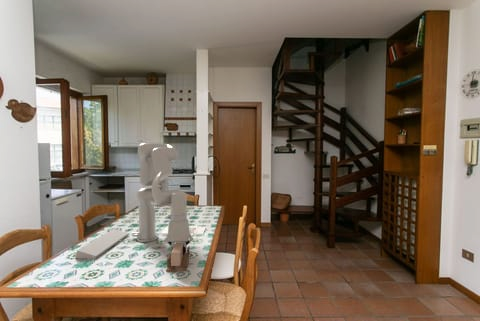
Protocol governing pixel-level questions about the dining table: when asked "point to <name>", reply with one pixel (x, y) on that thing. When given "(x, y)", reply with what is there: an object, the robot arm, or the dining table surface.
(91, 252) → the decorative molding
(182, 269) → the rack
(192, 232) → the tray
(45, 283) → the dining table surface
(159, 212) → the dining table surface
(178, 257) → the clay strip
